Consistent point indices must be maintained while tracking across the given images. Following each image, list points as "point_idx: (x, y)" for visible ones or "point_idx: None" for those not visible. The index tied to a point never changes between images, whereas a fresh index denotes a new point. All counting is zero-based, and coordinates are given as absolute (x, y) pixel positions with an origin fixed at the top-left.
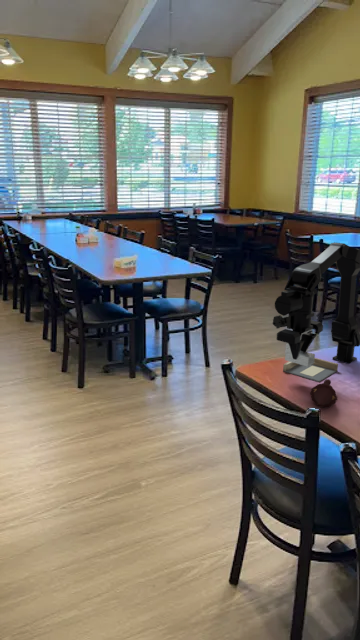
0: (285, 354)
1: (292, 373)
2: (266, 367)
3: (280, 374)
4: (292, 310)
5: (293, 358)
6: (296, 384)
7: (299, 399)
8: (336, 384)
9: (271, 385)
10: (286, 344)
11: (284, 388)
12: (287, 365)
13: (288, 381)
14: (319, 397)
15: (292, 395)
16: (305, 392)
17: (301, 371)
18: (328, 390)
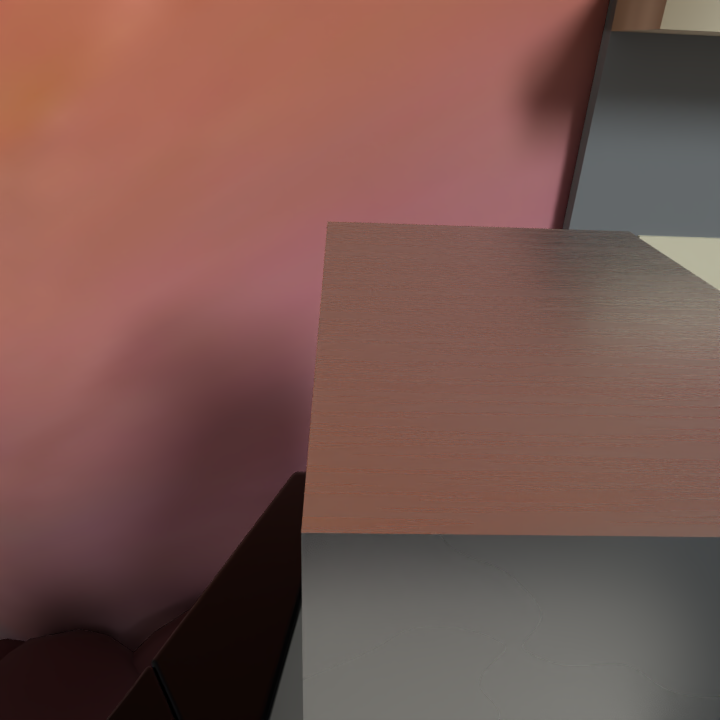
0: (325, 279)
1: (581, 158)
2: None
3: (468, 13)
4: None
5: (290, 489)
6: (298, 347)
7: (9, 514)
8: None
9: (21, 130)
10: (308, 519)
11: (92, 302)
12: (696, 32)
13: (311, 237)
14: None
15: (21, 439)
16: (188, 488)
17: (702, 229)
18: None
